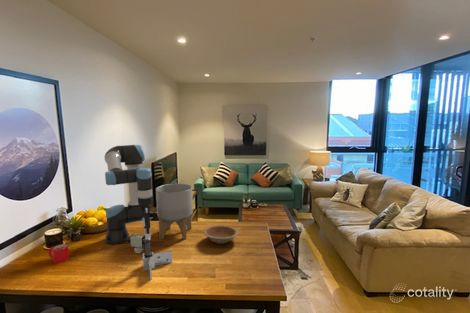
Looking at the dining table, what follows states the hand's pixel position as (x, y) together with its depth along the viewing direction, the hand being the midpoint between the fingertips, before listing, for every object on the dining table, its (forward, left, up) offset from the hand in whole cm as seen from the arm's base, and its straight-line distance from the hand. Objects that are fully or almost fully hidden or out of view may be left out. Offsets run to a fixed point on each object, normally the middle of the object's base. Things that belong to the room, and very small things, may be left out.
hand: (146, 233), depth 144 cm
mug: (-30, -49, -20) cm, 61 cm away
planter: (-37, +22, -20) cm, 47 cm away
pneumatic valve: (-20, -4, -20) cm, 28 cm away
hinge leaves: (+5, +5, -20) cm, 21 cm away
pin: (0, 0, -20) cm, 20 cm away
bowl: (-13, +48, -20) cm, 54 cm away
